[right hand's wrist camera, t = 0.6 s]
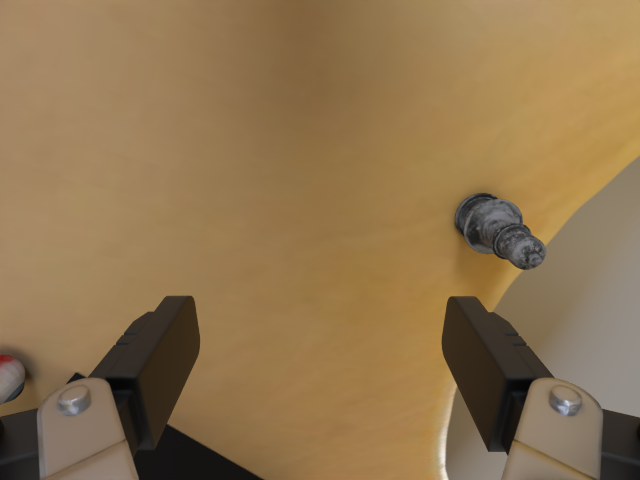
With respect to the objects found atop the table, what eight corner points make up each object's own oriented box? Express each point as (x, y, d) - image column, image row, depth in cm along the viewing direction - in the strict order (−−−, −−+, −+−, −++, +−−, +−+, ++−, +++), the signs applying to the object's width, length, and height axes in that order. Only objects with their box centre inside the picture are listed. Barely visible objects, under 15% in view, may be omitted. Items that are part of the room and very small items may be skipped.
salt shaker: (517, 208, 40) (594, 252, 29) (481, 250, 42) (540, 307, 31) (476, 180, 39) (540, 214, 28) (441, 224, 41) (487, 273, 29)
